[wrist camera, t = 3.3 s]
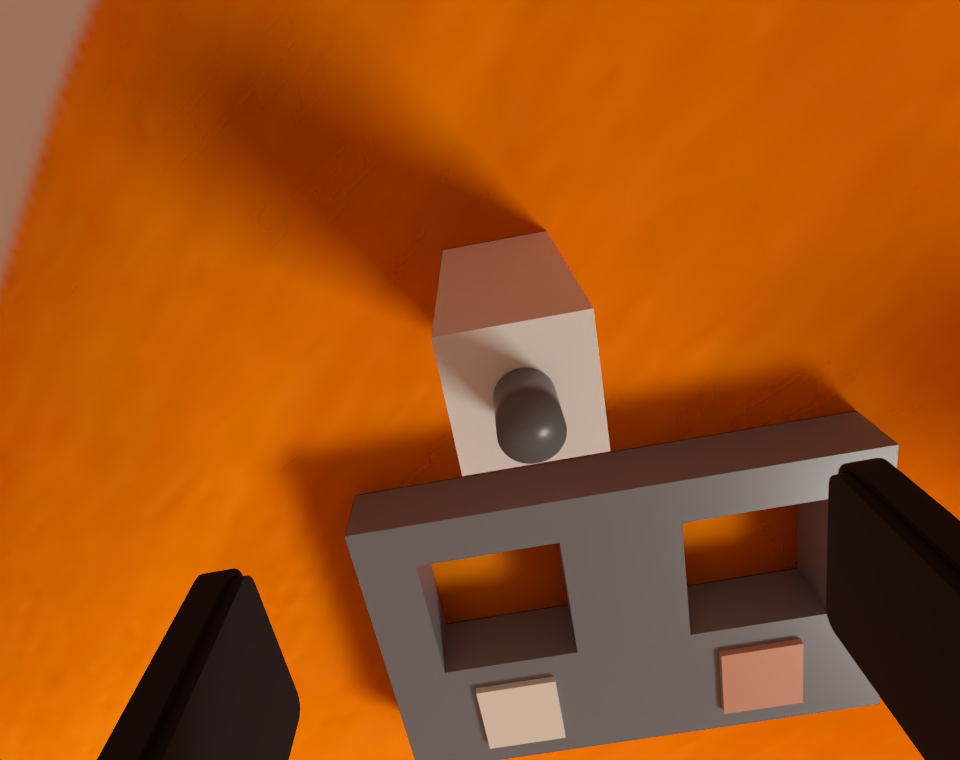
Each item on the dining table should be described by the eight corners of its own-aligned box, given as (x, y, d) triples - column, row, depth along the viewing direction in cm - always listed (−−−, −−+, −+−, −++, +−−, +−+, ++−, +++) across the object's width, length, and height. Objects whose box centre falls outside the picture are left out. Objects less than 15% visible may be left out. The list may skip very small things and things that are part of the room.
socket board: (355, 495, 30) (343, 541, 27) (856, 411, 29) (903, 448, 26) (422, 718, 35) (418, 777, 32) (845, 654, 34) (882, 709, 31)
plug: (443, 250, 26) (427, 368, 15) (546, 230, 25) (610, 335, 14) (462, 346, 27) (462, 519, 16) (560, 329, 27) (627, 492, 16)
